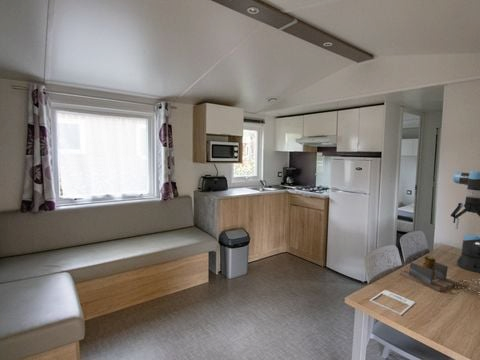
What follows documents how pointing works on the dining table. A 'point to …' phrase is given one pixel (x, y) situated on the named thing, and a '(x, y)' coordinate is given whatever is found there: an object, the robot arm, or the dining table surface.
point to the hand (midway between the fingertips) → (469, 231)
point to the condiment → (430, 265)
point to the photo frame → (397, 297)
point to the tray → (429, 276)
